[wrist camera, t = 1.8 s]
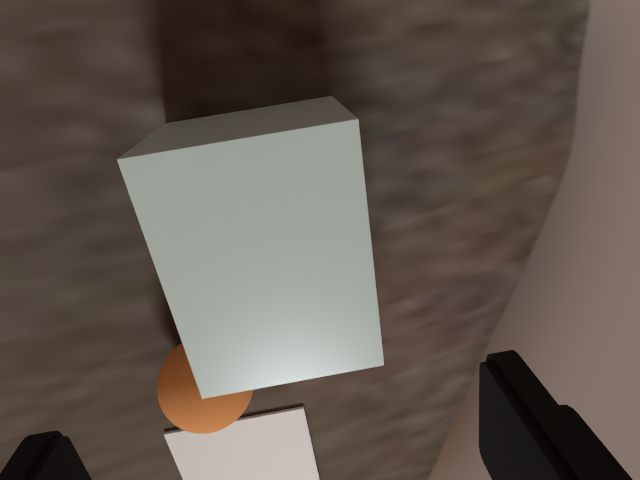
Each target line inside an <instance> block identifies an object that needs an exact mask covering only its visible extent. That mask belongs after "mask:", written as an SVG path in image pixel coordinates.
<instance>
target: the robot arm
mask: <svg viewBox="0 0 640 480" xmlns="http://www.w3.org/2000/svg"><path fill="white" fill-rule="evenodd" d="M479 377H480V378H479V449H480V454H481V457H482V460H483V462H484V464H485V466H486V468H487V470H488V472H489V474H490V476H491V478H492V480H632V478H631V477H630V476H629V475H628V474H627V472H626V471H625V470H624V469H623V468H622V466H621V465H620V464H619V463H618V462H617V460H616V459H615V458H614V457H613V456H612V454H611V453H610V452H609V451H608V449H607V448H606V447H605V446H604V445H603V443H602V442H601V441H600V440H599V438H598V437H597V436H596V435H595V434H594V432H593V431H592V430H591V429H590V428H589V426H588V425H587V424H586V423H585V421H584V420H583V419H582V418H581V417H580V415H579V414H578V413H577V412H576V411H575V410H574V409H573V408H571V407H570V406H568V405H558V404H557V402H556V401H555V400H554V399H553V397H552V396H551V395H550V394H549V392H548V391H547V390H546V388H545V387H544V386H543V385H542V383H541V382H540V381H539V380H538V378H537V377H536V376H535V375H534V373H533V372H532V371H531V369H530V368H529V367H528V366H527V365H526V363H525V362H524V361H523V359H522V358H521V357H520V356H519V354H518V353H517V352H516V351H514V350H510V351H505V352H498V353H493V354H488V355H487V357H486V362H481V363H480V372H479ZM0 480H92V479H91V477H90V476H89V474H88V472H87V470H86V468H85V466H84V465H83V463H82V461H81V459H80V457H79V455H78V453H77V452H76V450H75V448H74V446H73V444H72V442H71V441H70V439H69V438H68V437H67V436H63V435H62V434H61V433H60V432H59V431H51V432H45V433H39V434H34V435H29V436H27V437H26V438H24V440H23V441H22V442H21V443H20V445H19V446H18V448H17V449H16V451H15V452H14V454H13V455H12V457H11V458H10V460H9V461H8V463H7V464H6V466H5V467H4V469H3V470H2V472H1V473H0Z"/></svg>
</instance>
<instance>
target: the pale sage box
mask: <svg viewBox="0 0 640 480" xmlns="http://www.w3.org/2000/svg"><path fill="white" fill-rule="evenodd" d="M117 161H118V164H119V167H120V170H121V172H122V175H123V178H124V181H125V184H126V186H127V189H128V192H129V195H130V198H131V200H132V203H133V206H134V209H135V212H136V215H137V217H138V220H139V223H140V226H141V229H142V231H143V234H144V237H145V240H146V243H147V245H148V248H149V251H150V254H151V257H152V259H153V262H154V265H155V268H156V271H157V274H158V276H159V279H160V282H161V285H162V288H163V290H164V293H165V296H166V299H167V302H168V304H169V307H170V310H171V313H172V316H173V319H174V321H175V324H176V327H177V330H178V333H179V335H180V338H181V341H182V344H183V347H184V349H185V352H186V355H187V358H188V361H189V363H190V366H191V369H192V372H193V375H194V378H195V380H196V383H197V386H198V389H199V392H200V394H201V397H202V399H205V398H210V397H216V396H221V395H226V394H232V393H237V392H242V391H248V390H253V389H259V388H264V387H269V386H275V385H280V384H285V383H291V382H296V381H302V380H307V379H312V378H318V377H323V376H328V375H334V374H339V373H345V372H350V371H355V370H361V369H366V368H371V367H377V366H382V365H384V360H383V350H382V341H381V331H380V321H379V312H378V302H377V293H376V283H375V274H374V264H373V255H372V245H371V235H370V226H369V216H368V207H367V197H366V188H365V178H364V169H363V159H362V149H361V140H360V130H359V121H358V118H357V117H355V116H354V115H353V114H352V113H351V112H350V111H349V110H347V109H346V108H345V107H344V106H343V105H342V104H340V103H339V102H338V101H337V100H336V99H335V98H334V97H332V96H327V97H321V98H315V99H309V100H303V101H297V102H291V103H285V104H279V105H273V106H267V107H261V108H255V109H249V110H243V111H237V112H231V113H225V114H219V115H213V116H207V117H201V118H195V119H189V120H183V121H177V122H171V123H166V124H164V125H163V126H162V127H160V128H159V129H157V130H156V131H155V132H153V133H152V134H151V135H149V136H148V137H147V138H145V139H144V140H143V141H141V142H140V143H139V144H137V145H136V146H134V147H133V148H132V149H130V150H129V151H128V152H126V153H125V154H124V155H122V156H121V157H120V158H118V159H117Z"/></svg>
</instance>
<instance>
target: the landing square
mask: <svg viewBox="0 0 640 480" xmlns="http://www.w3.org/2000/svg"><path fill="white" fill-rule="evenodd" d="M164 436H165V439H166V441H167V443H168V446H169V448H170V450H171V453H172V455H173V457H174V460H175V462H176V464H177V467H178V469H179V471H180V474H181V476H182V478H183V480H320V478H319V474H318V469H317V465H316V460H315V456H314V451H313V447H312V442H311V438H310V433H309V429H308V424H307V420H306V415H305V411H304V406H301V407H296V408H290V409H285V410H280V411H274V412H269V413H264V414H258V415H253V416H248V417H242V418H238V419H237V420H236V421H234V422H233V423H232V424H231V425H229V426H227V427H226V428H224V429H221V430H219V431H216V432H213V433H207V434H197V433H191V432H187V431H185V430H182V429H179V430H173V431H168V432H164Z"/></svg>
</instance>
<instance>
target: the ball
mask: <svg viewBox="0 0 640 480" xmlns="http://www.w3.org/2000/svg"><path fill="white" fill-rule="evenodd" d="M252 393H253V390H248V391H242V392H237V393H232V394H226V395H221V396H216V397H210V398H205V399H202V397H201V394H200V392H199V389H198V386H197V383H196V380H195V378H194V375H193V372H192V369H191V366H190V363H189V361H188V358H187V355H186V352H185V349H184V347H183V344H182V343H181V344H180V345H178V346H177V347H176V348H175V349H174V350H173V351H172V352H171V353H170V354H169V355H168V357H167V358H166V359H165V361H164V363H163V365H162V367H161V369H160V372H159V376H158V380H157V395H158V401H159V404H160V406H161V409H162V411H163V412H164V414H165V415H166V417H167V418H168V419H169V420H170V421H171V422H172V423H173V424H174V425H176V426H177V427H179V428H180V429H182V430H185V431H187V432H191V433H197V434H207V433H213V432H216V431H219V430H221V429H224V428H226V427H227V426H229V425H231V424H232V423H233V422H234V421H236V420H237V419H238V418H239V417H240V416H241V414H242V413H243V412H244V411H245V409H246V407H247V406H248V404H249V402H250V399H251V396H252Z"/></svg>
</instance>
